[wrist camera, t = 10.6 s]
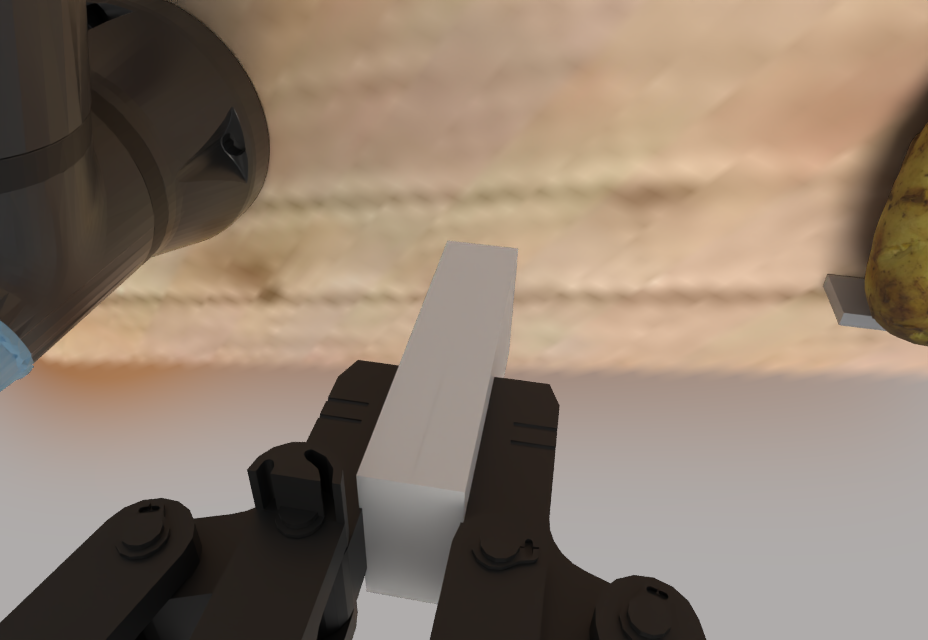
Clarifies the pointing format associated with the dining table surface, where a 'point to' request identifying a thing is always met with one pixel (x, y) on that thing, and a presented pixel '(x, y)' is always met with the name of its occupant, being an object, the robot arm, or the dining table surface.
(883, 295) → the potato
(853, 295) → the box
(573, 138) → the dining table surface
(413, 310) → the dining table surface
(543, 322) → the dining table surface
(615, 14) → the dining table surface
